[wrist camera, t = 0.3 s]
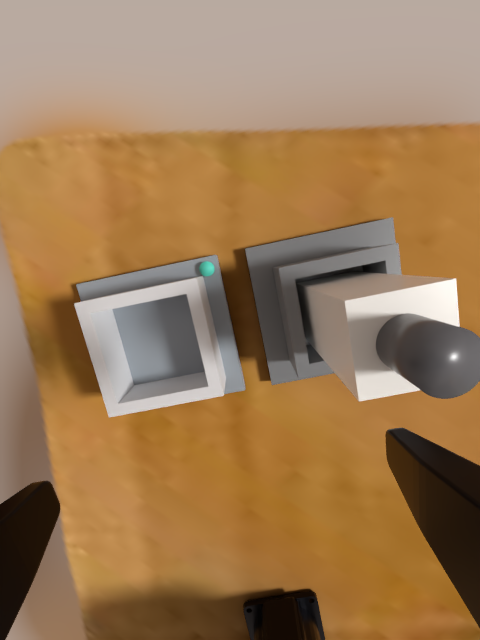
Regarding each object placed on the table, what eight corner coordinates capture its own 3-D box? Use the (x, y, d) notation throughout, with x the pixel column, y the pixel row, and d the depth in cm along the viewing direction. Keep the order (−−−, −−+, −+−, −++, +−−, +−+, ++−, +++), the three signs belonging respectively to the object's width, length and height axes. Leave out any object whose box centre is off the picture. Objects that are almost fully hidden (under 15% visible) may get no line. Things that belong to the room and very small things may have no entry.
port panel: (245, 385, 23) (245, 409, 19) (119, 409, 23) (96, 437, 20) (217, 255, 21) (211, 253, 17) (82, 283, 22) (48, 287, 18)
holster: (402, 355, 22) (439, 377, 18) (270, 380, 23) (277, 407, 19) (387, 219, 21) (424, 207, 16) (244, 249, 21) (245, 245, 17)
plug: (361, 327, 21) (521, 412, 9) (305, 338, 21) (388, 436, 9) (353, 271, 21) (516, 282, 8) (296, 283, 21) (372, 311, 9)
